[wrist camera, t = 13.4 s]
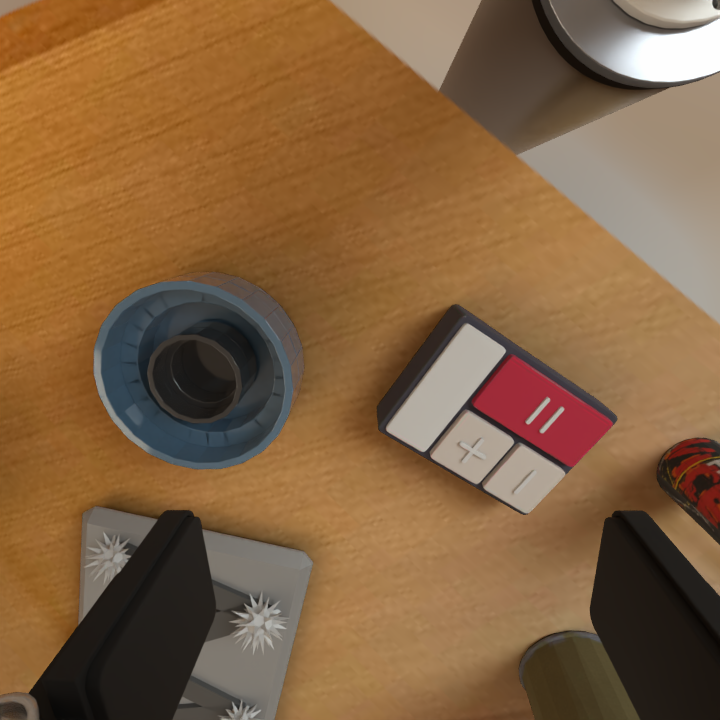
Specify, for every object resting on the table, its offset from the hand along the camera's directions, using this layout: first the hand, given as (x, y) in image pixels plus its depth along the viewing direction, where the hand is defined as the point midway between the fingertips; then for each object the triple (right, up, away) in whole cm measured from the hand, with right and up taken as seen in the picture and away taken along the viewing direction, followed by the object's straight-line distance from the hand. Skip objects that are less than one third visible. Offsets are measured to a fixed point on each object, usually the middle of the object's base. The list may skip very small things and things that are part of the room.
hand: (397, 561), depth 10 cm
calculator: (+10, +1, +27) cm, 28 cm away
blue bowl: (-12, +5, +26) cm, 29 cm away
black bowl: (-12, +5, +26) cm, 29 cm away
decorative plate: (-19, -24, +36) cm, 47 cm away
